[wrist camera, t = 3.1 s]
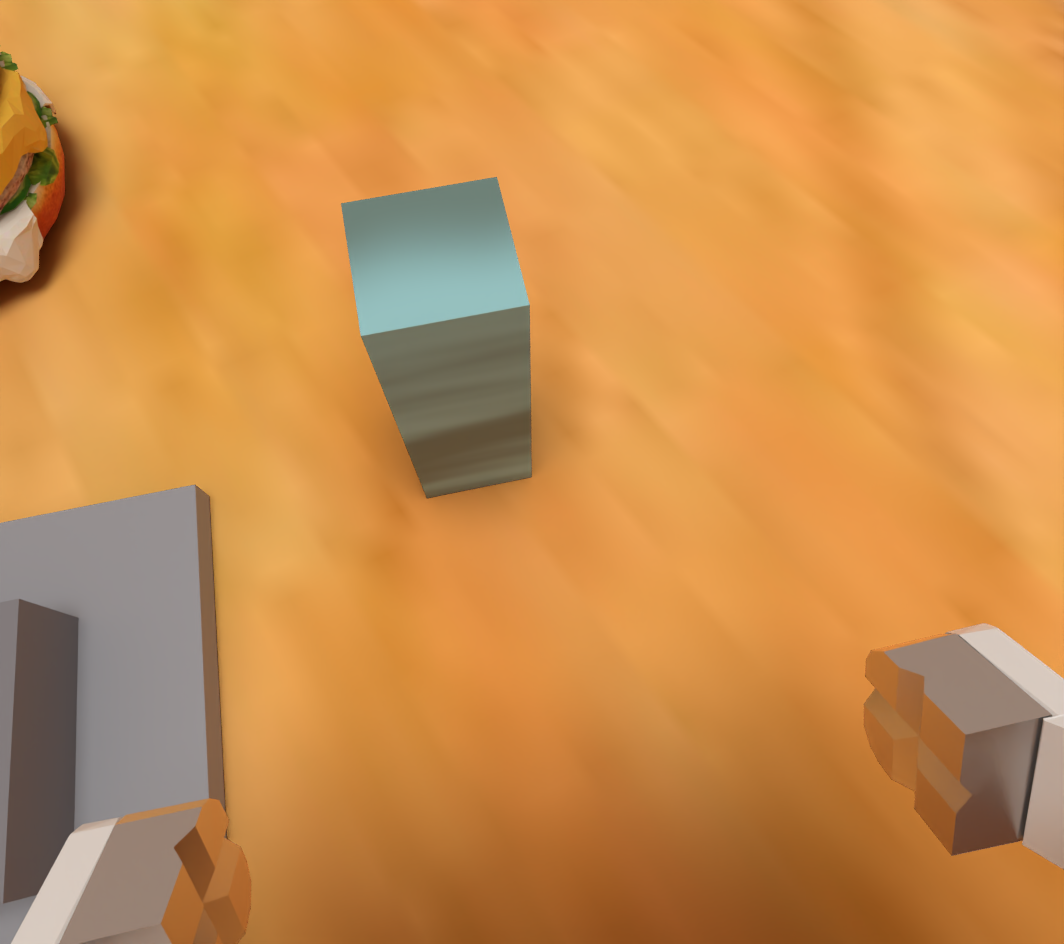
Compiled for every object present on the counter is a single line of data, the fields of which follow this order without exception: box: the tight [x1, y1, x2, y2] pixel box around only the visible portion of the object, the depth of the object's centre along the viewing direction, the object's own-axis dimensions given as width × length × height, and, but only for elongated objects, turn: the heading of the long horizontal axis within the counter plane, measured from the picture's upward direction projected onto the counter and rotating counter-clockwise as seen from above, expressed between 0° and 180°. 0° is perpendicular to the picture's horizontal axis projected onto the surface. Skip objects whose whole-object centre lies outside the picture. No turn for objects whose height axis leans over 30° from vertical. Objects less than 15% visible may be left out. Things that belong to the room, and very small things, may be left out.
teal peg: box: [341, 177, 532, 498], centre depth 23 cm, size 4×4×11 cm
